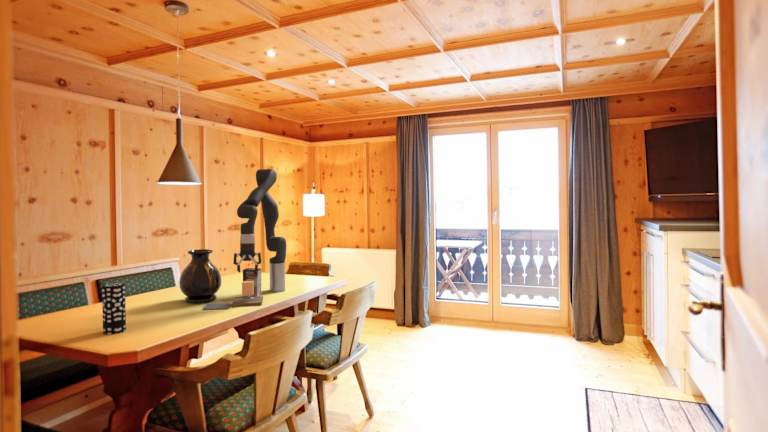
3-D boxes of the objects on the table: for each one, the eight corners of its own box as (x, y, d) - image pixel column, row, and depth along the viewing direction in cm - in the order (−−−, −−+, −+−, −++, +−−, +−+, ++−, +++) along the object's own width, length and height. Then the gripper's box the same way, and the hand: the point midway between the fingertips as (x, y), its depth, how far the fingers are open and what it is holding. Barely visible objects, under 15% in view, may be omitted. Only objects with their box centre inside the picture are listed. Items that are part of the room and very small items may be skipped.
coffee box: (242, 297, 251) (241, 269, 251) (246, 295, 258) (246, 267, 257) (257, 297, 251) (257, 269, 250) (261, 295, 257) (261, 268, 256)
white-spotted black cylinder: (109, 328, 190) (108, 283, 189) (129, 328, 191) (128, 282, 190) (98, 334, 182) (97, 286, 181) (119, 334, 183) (118, 286, 182)
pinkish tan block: (243, 293, 240) (242, 281, 240) (253, 293, 242) (253, 280, 241) (242, 295, 235) (241, 282, 235) (252, 295, 236) (252, 282, 236)
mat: (207, 304, 234) (207, 303, 234) (230, 303, 236) (230, 302, 236) (202, 310, 222) (202, 309, 222) (227, 309, 225) (227, 307, 225)
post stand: (235, 300, 244) (234, 281, 244) (263, 299, 247) (262, 280, 247) (231, 306, 229) (231, 286, 229) (261, 305, 233) (261, 285, 232)
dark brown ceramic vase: (221, 303, 237) (220, 251, 236) (177, 306, 230) (176, 253, 229) (221, 295, 257) (221, 247, 256) (181, 298, 250) (180, 249, 249)
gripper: (261, 241, 243) (261, 270, 243) (234, 241, 239) (234, 271, 240) (260, 242, 235) (260, 272, 236) (232, 243, 232) (232, 273, 233)
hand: (247, 272), depth 238 cm, fingers open, 8 cm apart
